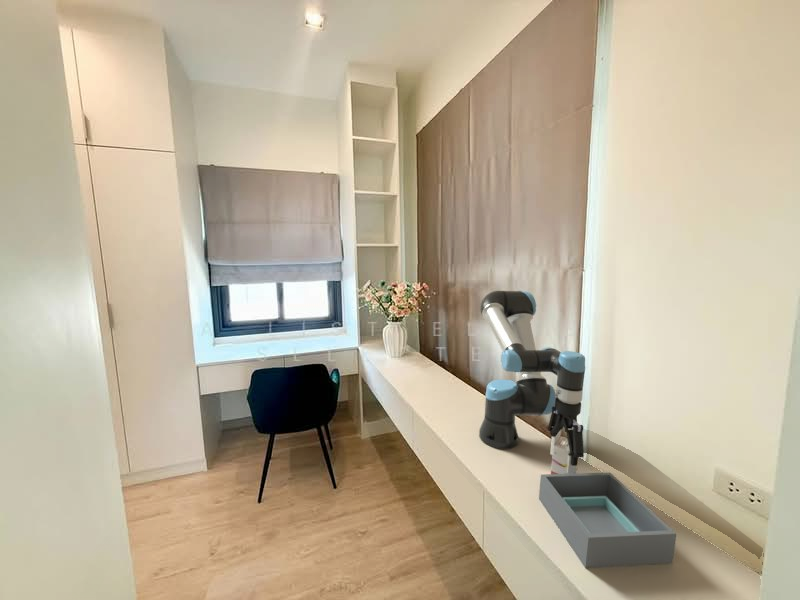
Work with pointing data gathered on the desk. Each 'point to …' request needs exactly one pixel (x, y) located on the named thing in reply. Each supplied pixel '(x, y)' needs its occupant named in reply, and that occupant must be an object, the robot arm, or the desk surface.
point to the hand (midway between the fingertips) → (562, 463)
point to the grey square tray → (605, 521)
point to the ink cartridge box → (560, 455)
